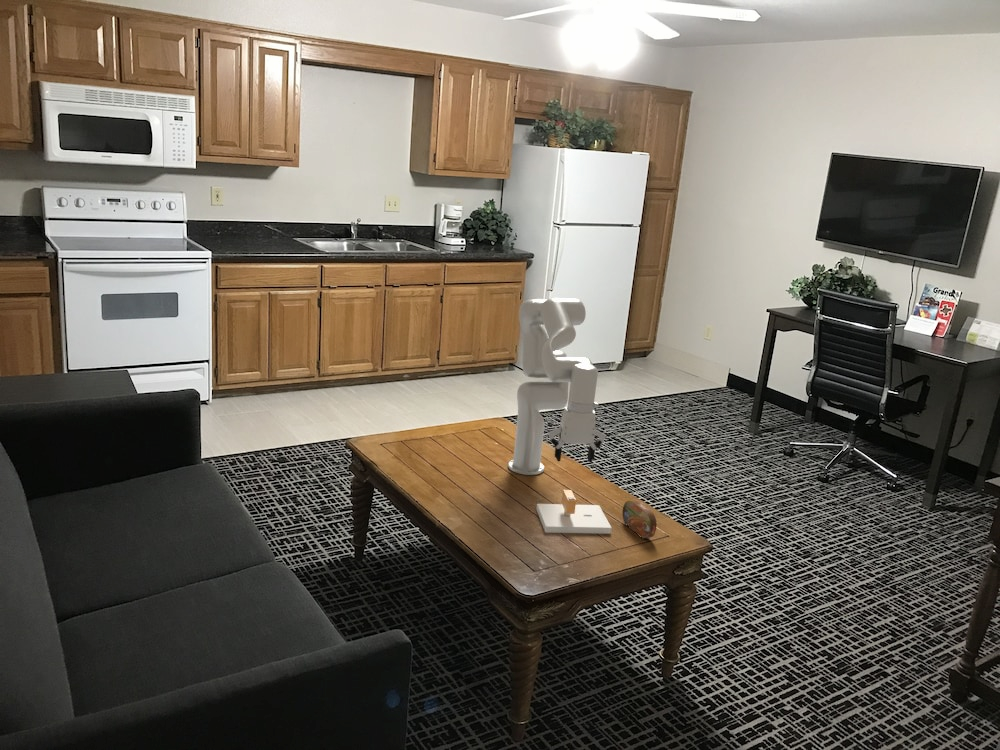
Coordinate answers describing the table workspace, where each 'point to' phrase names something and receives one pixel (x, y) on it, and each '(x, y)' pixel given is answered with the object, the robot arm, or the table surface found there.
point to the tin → (639, 519)
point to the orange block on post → (568, 502)
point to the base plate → (573, 519)
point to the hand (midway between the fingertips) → (573, 460)
